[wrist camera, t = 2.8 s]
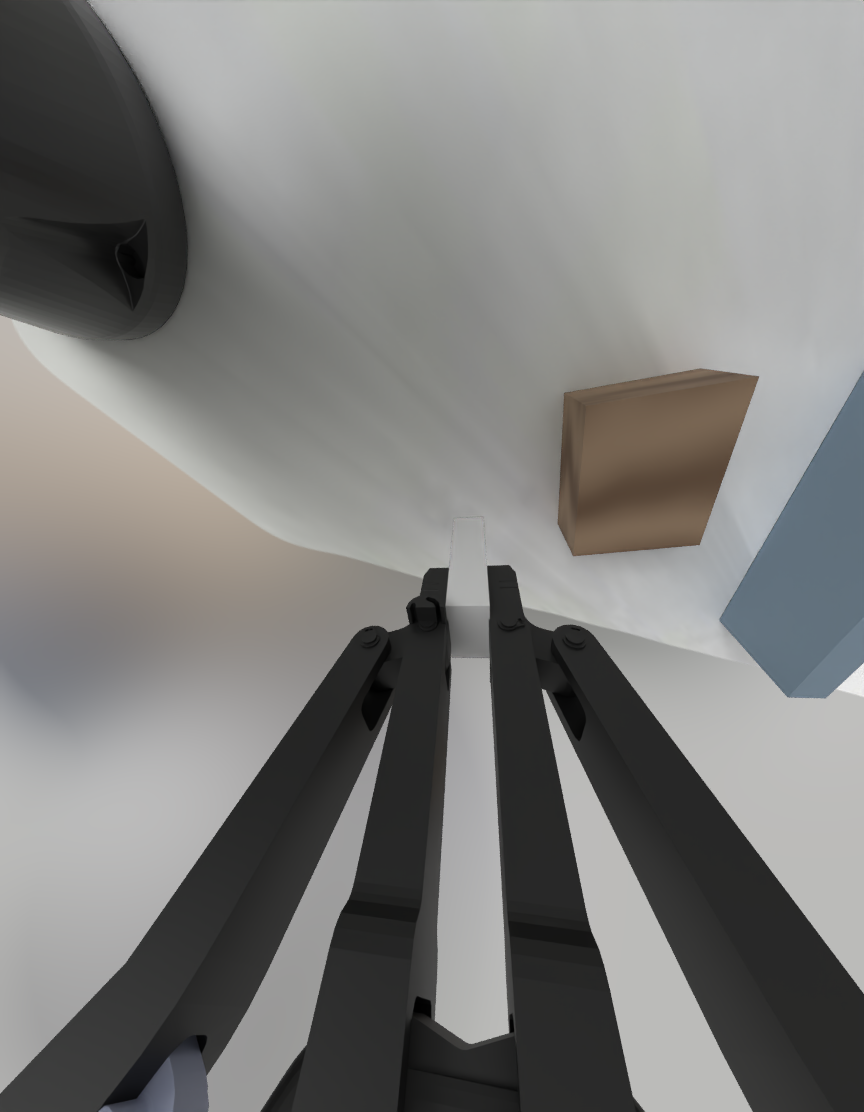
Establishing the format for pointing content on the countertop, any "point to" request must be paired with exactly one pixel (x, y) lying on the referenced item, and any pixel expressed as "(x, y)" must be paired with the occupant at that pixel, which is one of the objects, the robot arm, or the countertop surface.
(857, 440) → the slate board
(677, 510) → the walnut block
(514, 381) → the countertop surface
